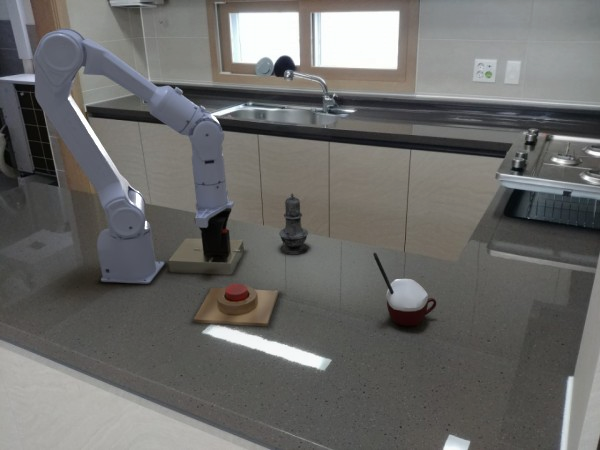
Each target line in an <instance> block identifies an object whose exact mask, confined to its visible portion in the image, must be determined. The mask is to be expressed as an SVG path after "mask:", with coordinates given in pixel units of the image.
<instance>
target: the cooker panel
mask: <svg viewBox="0 0 600 450" xmlns="http://www.w3.org/2000/svg"><path fill="white" fill-rule="evenodd" d="M230 247H231V249H230V250H229V252H228V253H227V252H203V245H202V238H190V237H189V238H188V237H186V238H185V239H184V240H183V241H182V243H180V245H179V246H178V248H177V249H176V250H175V251H174V253H173V254H172V255H171V257H170V258H169V259H168V267H169V273H182V274H183V273H184V274H185V273H186V274H204V275H205V274H206V275H224V276H225V275H228V276H232V274H233V273H234V271H235V269H236V267H237V265H238V264H239V262H240V260H241V257H242V256H243V254H244V252H245V247H244V240H243V239H230Z"/></svg>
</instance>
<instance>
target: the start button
mask: <svg viewBox="0 0 600 450" xmlns="http://www.w3.org/2000/svg"><path fill="white" fill-rule="evenodd" d="M247 286H248V285H247V284H244V283H232V284H229V285H228V286H226V287H227V288H226V287H225V288H226V289H225V292H226V299H227V300H228V301H230V302H239V301H243V300H245V299H247V298H248V289H247Z"/></svg>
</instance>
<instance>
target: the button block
mask: <svg viewBox="0 0 600 450" xmlns="http://www.w3.org/2000/svg"><path fill="white" fill-rule="evenodd" d="M246 286H247V289H248V298H247V299H245V300H243V301H239V302H230V301H228V300H227V299H226V292H225V289H226V288H227V287H228V286H226V287H225V288H224V287H211V288H210V290H209V291H208V293H207V295H206V296H205V299H204V300H203V301H202V304H201V305H200V307H199V309H198V310H197V312H196V314H195V315H194V317H193V323H194V324H195V323H196V324H209V325H232V326H247V327H265V328H268V327H269V324H270V321H271V317H272V315H273V312H274V309H275V306H276V303H277V300H278V297H279V295H280V294H279V292H280V291H279V290H268V289H255V288H254V287H251V286H250V285H246Z"/></svg>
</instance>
